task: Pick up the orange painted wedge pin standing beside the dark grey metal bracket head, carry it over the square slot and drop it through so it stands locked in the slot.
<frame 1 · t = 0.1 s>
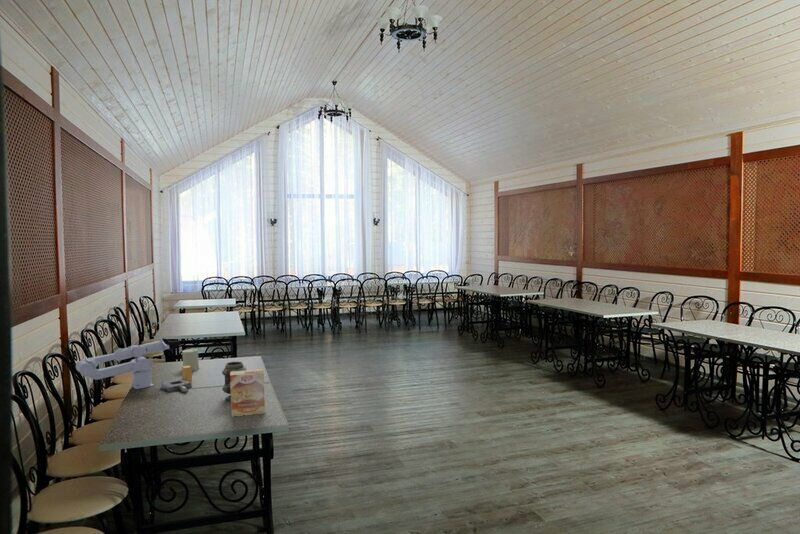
hand: (178, 341, 313), 22 cm above the table, tool horizontal, fingers open, 7 cm apart
bracket head: (176, 387, 299), on the table
wedge pin: (187, 380, 312), on the table
can: (191, 369, 337), on the table
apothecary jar: (235, 398, 278), on the table
coffeecake box: (248, 413, 256), on the table
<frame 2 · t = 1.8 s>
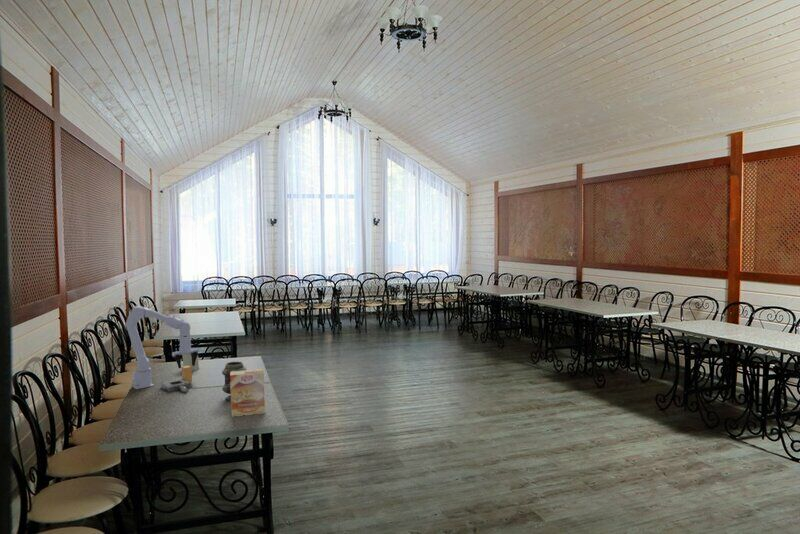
hand: (186, 366, 311), 8 cm above the table, tool pointing down, fingers open, 7 cm apart
nothing on the table moved.
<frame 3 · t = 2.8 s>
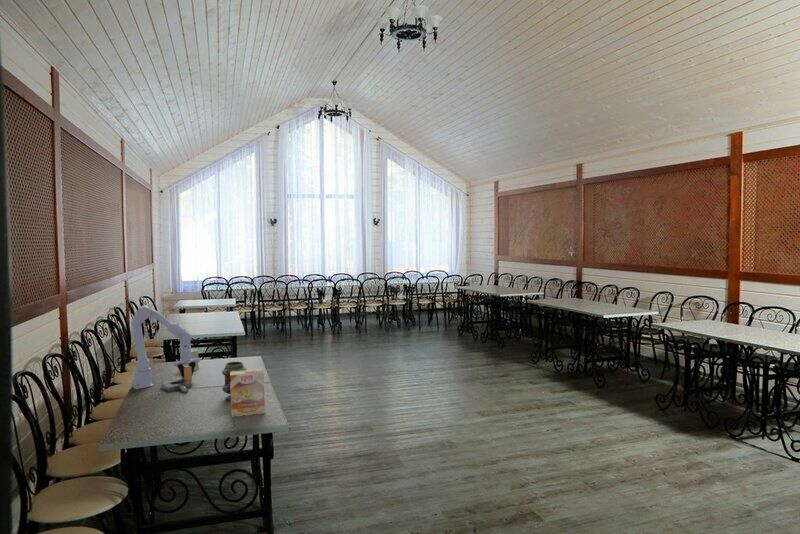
hand: (186, 376, 311), 2 cm above the table, tool pointing down, fingers closed on wedge pin, 4 cm apart
wedge pin: (187, 380, 312), on the table, touching gripper
everything else where it was.
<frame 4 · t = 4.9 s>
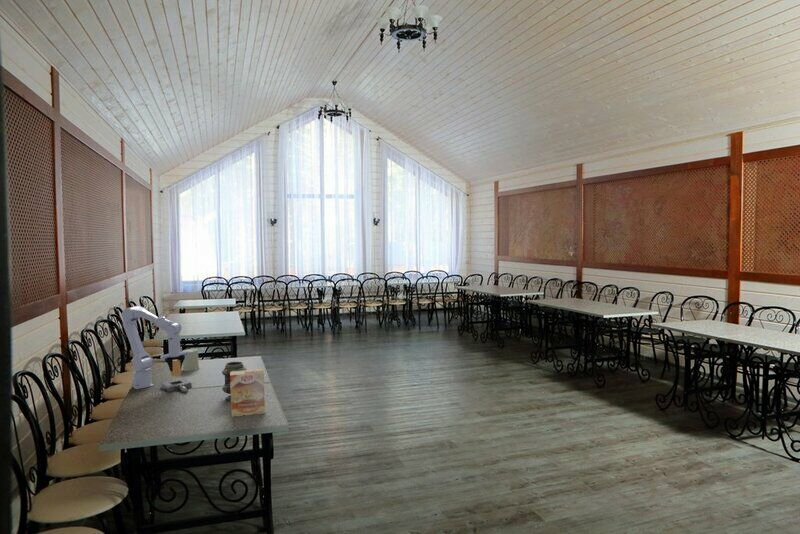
hand: (175, 370, 298), 9 cm above the table, tool pointing down, fingers closed on wedge pin, 4 cm apart
wedge pin: (175, 375, 298), point 7 cm above the table, touching gripper
everything else where it was.
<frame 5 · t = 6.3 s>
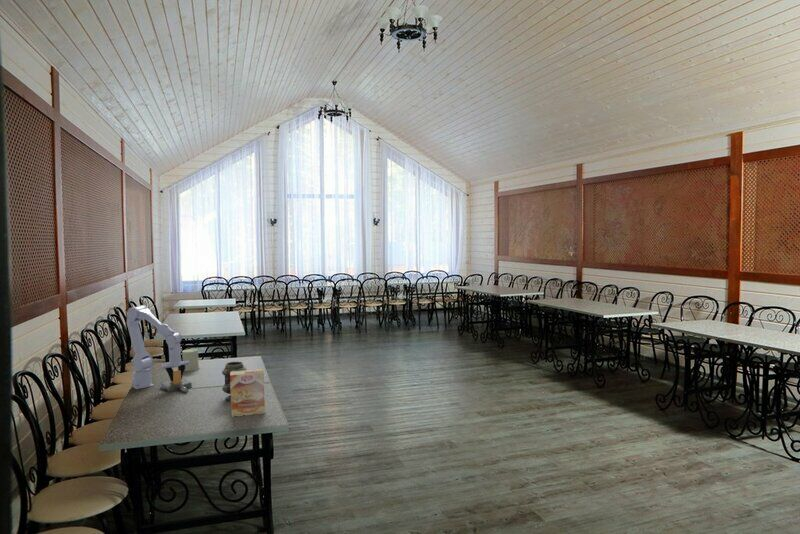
hand: (176, 380, 299), 4 cm above the table, tool pointing down, fingers closed on wedge pin, 4 cm apart
wedge pin: (176, 385, 299), point 1 cm above the table, touching gripper
everything else where it was.
when the fingers open (4 cm above the table, at t = 7.2 s): wedge pin drops 1 cm, resting in bracket head.
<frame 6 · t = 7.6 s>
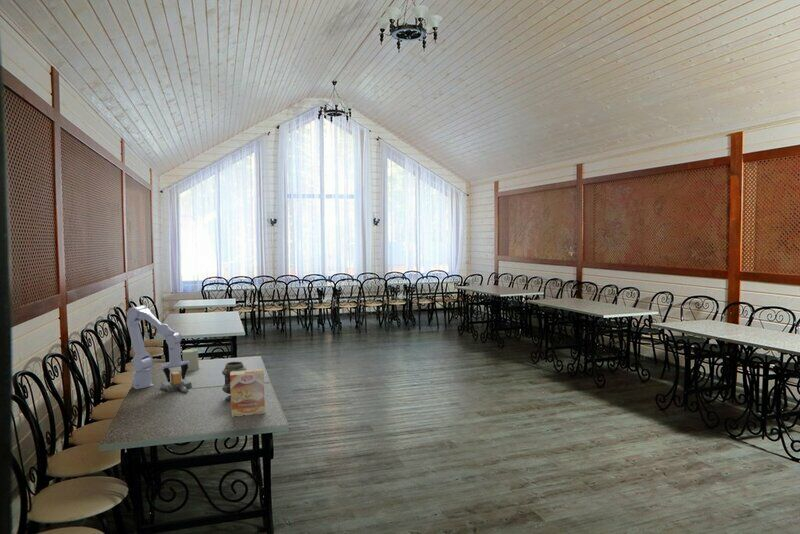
hand: (176, 380, 299), 4 cm above the table, tool pointing down, fingers open, 7 cm apart
wedge pin: (176, 387, 299), resting in bracket head
everything else where it was.
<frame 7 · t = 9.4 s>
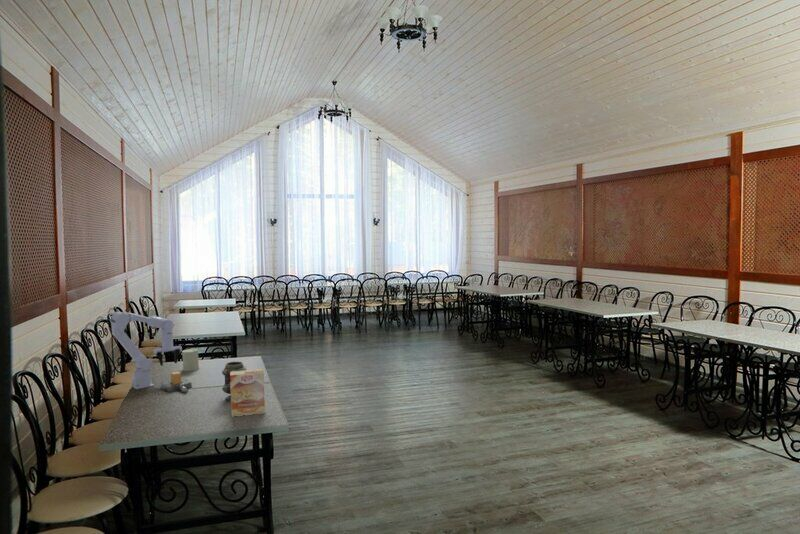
hand: (168, 364, 312), 9 cm above the table, tool pointing down, fingers open, 7 cm apart
nothing on the table moved.
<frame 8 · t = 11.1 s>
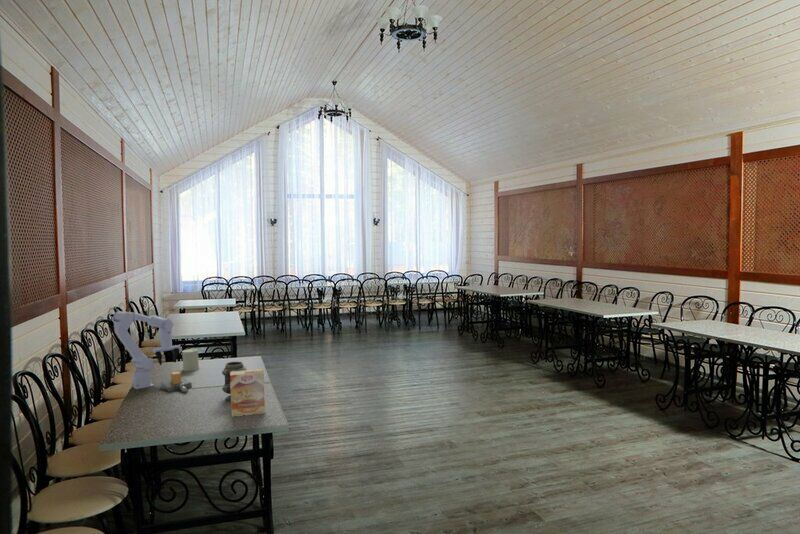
hand: (167, 363, 314), 9 cm above the table, tool pointing down, fingers open, 7 cm apart
nothing on the table moved.
at the end: wedge pin 0.0 cm off-centre on the bracket head, point 0.0 cm above the bracket head's base; wedge pin tilted 0°; the gripper is holding nothing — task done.
